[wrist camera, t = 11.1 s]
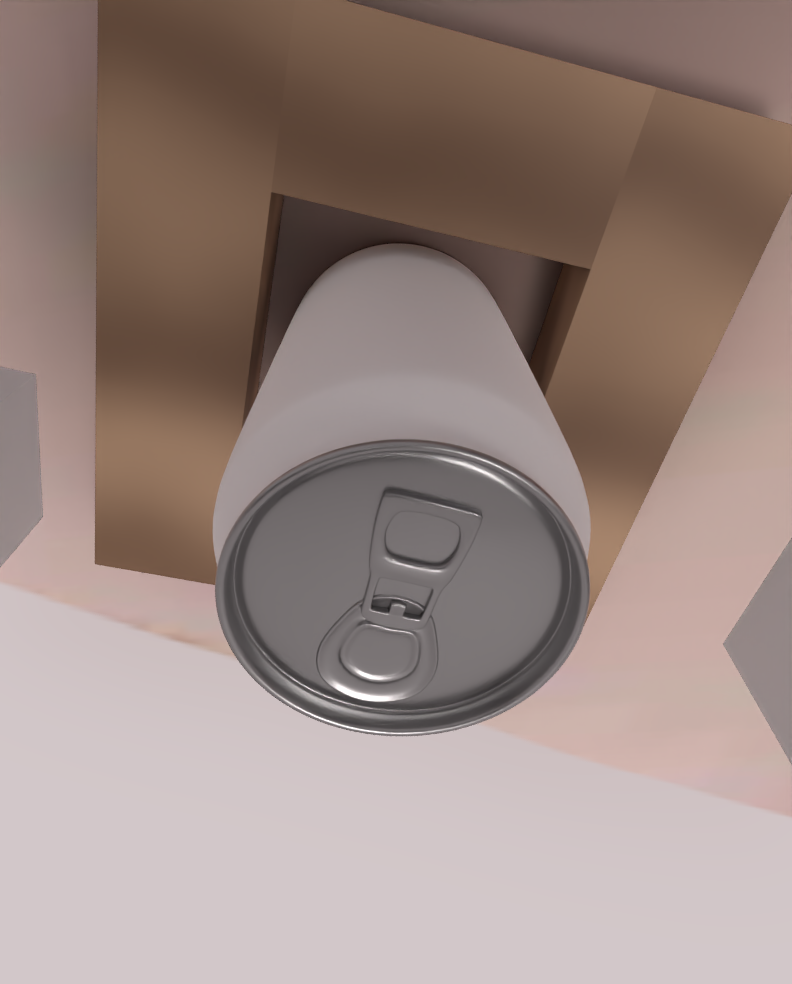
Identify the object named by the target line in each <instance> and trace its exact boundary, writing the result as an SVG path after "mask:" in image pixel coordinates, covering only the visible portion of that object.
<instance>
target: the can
mask: <svg viewBox="0 0 792 984" xmlns="http://www.w3.org/2000/svg"><path fill="white" fill-rule="evenodd" d="M590 533H591V523H590V512H589V505H588V500H587V496H586V492H585V488H584V485H583V481H582V478H581V475H580V473H579V470H578V468H577V465H576V463H575V460H574V458H573V456H572V453H571V451H570V449H569V447H568V445H567V443H566V440H565V438H564V436H563V434H562V432H561V430H560V428H559V426H558V424H557V422H556V420H555V418H554V416H553V414H552V412H551V410H550V408H549V406H548V403H547V401H546V399H545V397H544V395H543V393H542V391H541V389H540V387H539V385H538V383H537V381H536V379H535V377H534V375H533V373H532V371H531V369H530V367H529V365H528V363H527V361H526V359H525V357H524V355H523V354H522V352H521V350H520V348H519V346H518V344H517V342H516V340H515V338H514V336H513V334H512V332H511V330H510V328H509V326H508V324H507V322H506V320H505V318H504V316H503V315H502V313H501V311H500V309H499V307H498V305H497V303H496V302H495V300H494V298H493V297H492V295H491V294H490V292H489V291H488V289H487V288H486V287H485V285H484V284H483V283H482V282H481V280H480V279H479V278H478V277H477V276H476V275H475V274H474V273H473V272H472V271H470V270H469V269H468V268H467V267H466V266H464V265H463V264H462V263H460V262H459V261H457V260H456V259H454V258H452V257H450V256H448V255H446V254H444V253H442V252H440V251H437V250H434V249H431V248H428V247H424V246H419V245H413V244H383V245H377V246H373V247H369V248H365V249H362V250H360V251H357V252H355V253H352V254H350V255H348V256H346V257H344V258H343V259H341V260H339V261H338V262H336V263H335V264H333V265H332V266H331V267H330V268H328V269H327V270H326V271H325V272H324V273H323V274H322V275H321V276H320V277H319V278H318V279H317V280H316V281H315V282H314V283H313V285H312V286H311V287H310V288H309V290H308V291H307V293H306V294H305V296H304V298H303V299H302V301H301V303H300V305H299V306H298V308H297V310H296V312H295V314H294V316H293V319H292V321H291V323H290V325H289V327H288V329H287V331H286V333H285V336H284V338H283V340H282V342H281V344H280V346H279V349H278V351H277V353H276V355H275V357H274V359H273V362H272V364H271V366H270V368H269V370H268V373H267V375H266V377H265V379H264V381H263V384H262V386H261V388H260V390H259V392H258V395H257V397H256V399H255V401H254V403H253V406H252V408H251V410H250V412H249V415H248V417H247V419H246V421H245V424H244V426H243V428H242V430H241V433H240V435H239V437H238V440H237V442H236V444H235V446H234V449H233V451H232V453H231V456H230V458H229V461H228V464H227V466H226V469H225V472H224V474H223V477H222V480H221V483H220V486H219V490H218V494H217V499H216V503H215V509H214V516H213V545H214V552H215V558H216V563H217V572H216V581H215V597H216V607H217V613H218V617H219V621H220V624H221V627H222V630H223V633H224V635H225V638H226V640H227V642H228V644H229V646H230V648H231V650H232V651H233V653H234V655H235V656H236V658H237V659H238V661H239V662H240V663H241V665H242V666H243V667H244V669H245V670H246V671H247V672H248V673H249V674H250V675H251V677H252V678H253V679H254V680H255V681H256V682H257V683H258V684H259V685H260V686H262V687H263V688H264V689H265V690H266V691H267V692H269V693H270V694H271V695H272V696H274V697H275V698H277V699H278V700H279V701H281V702H282V703H284V704H286V705H287V706H289V707H291V708H292V709H294V710H296V711H298V712H300V713H302V714H304V715H306V716H308V717H310V718H313V719H315V720H317V721H320V722H323V723H325V724H328V725H332V726H335V727H338V728H342V729H346V730H350V731H355V732H360V733H366V734H373V735H384V736H419V735H429V734H437V733H442V732H448V731H452V730H457V729H461V728H464V727H468V726H471V725H474V724H477V723H480V722H483V721H485V720H488V719H490V718H493V717H495V716H497V715H499V714H501V713H503V712H505V711H507V710H509V709H511V708H513V707H514V706H516V705H518V704H519V703H521V702H522V701H524V700H525V699H527V698H528V697H529V696H531V695H532V694H533V693H535V692H536V691H537V690H538V689H540V688H541V687H542V686H543V685H544V684H545V683H546V682H547V681H548V680H549V679H550V678H551V677H552V676H553V675H554V674H555V673H556V672H557V671H558V670H559V668H560V667H561V666H562V665H563V663H564V662H565V661H566V659H567V658H568V656H569V655H570V653H571V652H572V650H573V648H574V647H575V645H576V643H577V641H578V639H579V636H580V634H581V632H582V629H583V626H584V623H585V620H586V616H587V612H588V607H589V600H590V574H589V567H588V562H587V558H588V552H589V545H590Z"/></svg>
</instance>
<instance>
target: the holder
mask: <svg viewBox="0 0 792 984" xmlns="http://www.w3.org/2000/svg"><path fill="white" fill-rule="evenodd" d="M791 194H792V125H791V124H787V123H784V122H780V121H776V120H773V119H769V118H766V117H762V116H759V115H755V114H751V113H748V112H744V111H741V110H737V109H733V108H730V107H726V106H723V105H719V104H715V103H712V102H708V101H705V100H701V99H698V98H694V97H690V96H687V95H683V94H680V93H676V92H672V91H669V90H665V89H662V88H658V87H654V86H651V85H647V84H644V83H640V82H637V81H633V80H629V79H626V78H622V77H619V76H615V75H611V74H608V73H604V72H601V71H597V70H593V69H590V68H586V67H583V66H579V65H576V64H572V63H568V62H565V61H561V60H558V59H554V58H550V57H547V56H543V55H540V54H536V53H532V52H529V51H525V50H522V49H518V48H515V47H511V46H507V45H504V44H500V43H497V42H493V41H489V40H486V39H482V38H479V37H475V36H472V35H468V34H464V33H461V32H457V31H454V30H450V29H446V28H443V27H439V26H436V25H432V24H428V23H425V22H421V21H418V20H414V19H411V18H407V17H403V16H400V15H396V14H393V13H389V12H385V11H382V10H378V9H375V8H371V7H367V6H364V5H360V4H357V3H353V2H350V1H346V0H98V89H97V272H96V455H95V564H98V565H103V566H109V567H115V568H121V569H126V570H132V571H138V572H144V573H149V574H155V575H161V576H167V577H172V578H178V579H184V580H190V581H195V582H201V583H207V584H213V585H215V581H216V572H217V563H216V558H215V552H214V545H213V516H214V509H215V503H216V499H217V494H218V490H219V486H220V483H221V480H222V477H223V474H224V472H225V469H226V466H227V464H228V461H229V458H230V456H231V453H232V451H233V449H234V446H235V444H236V442H237V440H238V437H239V435H240V433H241V430H242V428H243V426H244V424H245V421H246V419H247V417H248V415H249V412H250V410H251V408H252V406H253V403H254V401H255V399H256V397H257V393H258V385H259V378H260V370H261V363H262V355H263V348H264V340H265V333H266V325H267V318H268V310H269V303H270V295H271V288H272V280H273V273H274V265H275V258H276V250H277V243H278V235H279V228H280V220H281V213H282V205H283V198H284V195H286V196H290V197H294V198H298V199H302V200H307V201H311V202H315V203H319V204H323V205H327V206H331V207H335V208H340V209H344V210H348V211H352V212H356V213H360V214H364V215H368V216H373V217H377V218H381V219H385V220H389V221H393V222H397V223H401V224H406V225H410V226H414V227H418V228H422V229H426V230H430V231H434V232H438V233H443V234H447V235H451V236H455V237H459V238H463V239H467V240H471V241H476V242H480V243H484V244H488V245H492V246H496V247H500V248H504V249H509V250H513V251H517V252H521V253H525V254H529V255H533V256H537V257H542V258H546V259H550V260H554V261H558V262H562V263H564V264H563V267H562V270H561V273H560V276H559V279H558V282H557V285H556V288H555V291H554V294H553V297H552V300H551V303H550V305H549V308H548V311H547V314H546V317H545V320H544V323H543V326H542V329H541V332H540V335H539V338H538V341H537V344H536V346H535V349H534V352H533V355H532V358H531V361H530V364H529V367H530V369H531V371H532V373H533V375H534V377H535V379H536V381H537V383H538V385H539V387H540V389H541V391H542V393H543V395H544V397H545V399H546V401H547V403H548V406H549V408H550V410H551V412H552V414H553V416H554V418H555V420H556V422H557V424H558V426H559V428H560V430H561V432H562V434H563V436H564V438H565V440H566V443H567V445H568V447H569V449H570V451H571V453H572V456H573V458H574V460H575V463H576V465H577V468H578V470H579V473H580V475H581V478H582V481H583V485H584V488H585V492H586V496H587V500H588V505H589V512H590V523H591V533H590V545H589V552H588V558H587V562H588V567H589V574H590V600H589V607H588V612H587V616H586V620H587V618H588V616H589V614H590V612H591V610H592V608H593V606H594V603H595V601H596V599H597V597H598V595H599V593H600V591H601V589H602V587H603V585H604V583H605V581H606V579H607V576H608V574H609V572H610V570H611V568H612V566H613V564H614V562H615V560H616V558H617V556H618V554H619V551H620V549H621V547H622V545H623V543H624V541H625V539H626V537H627V535H628V533H629V531H630V529H631V527H632V524H633V522H634V520H635V518H636V516H637V514H638V512H639V510H640V508H641V506H642V504H643V502H644V500H645V497H646V495H647V493H648V491H649V489H650V487H651V485H652V483H653V481H654V479H655V477H656V475H657V472H658V470H659V468H660V466H661V464H662V462H663V460H664V458H665V456H666V454H667V452H668V450H669V448H670V445H671V443H672V441H673V439H674V437H675V435H676V433H677V431H678V429H679V427H680V425H681V423H682V421H683V418H684V416H685V414H686V412H687V410H688V408H689V406H690V404H691V402H692V400H693V398H694V396H695V393H696V391H697V389H698V387H699V385H700V383H701V381H702V379H703V377H704V375H705V373H706V371H707V369H708V366H709V364H710V362H711V360H712V358H713V356H714V354H715V352H716V350H717V348H718V346H719V344H720V342H721V339H722V337H723V335H724V333H725V331H726V329H727V327H728V325H729V323H730V321H731V319H732V317H733V314H734V312H735V310H736V308H737V306H738V304H739V302H740V300H741V298H742V296H743V294H744V292H745V290H746V287H747V285H748V283H749V281H750V279H751V277H752V275H753V273H754V271H755V269H756V267H757V265H758V262H759V260H760V258H761V256H762V254H763V252H764V250H765V248H766V246H767V244H768V242H769V240H770V238H771V235H772V233H773V231H774V229H775V227H776V225H777V223H778V221H779V219H780V217H781V215H782V213H783V211H784V208H785V206H786V204H787V202H788V200H789V198H790V196H791ZM586 620H585V622H586ZM584 624H585V623H584Z"/></svg>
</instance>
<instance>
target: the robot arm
mask: <svg viewBox="0 0 792 984" xmlns="http://www.w3.org/2000/svg"><path fill="white" fill-rule="evenodd" d="M42 517H43V508H42V488H41V468H40V448H39V428H38V408H37V387H36V374H33V373H28V372H23V371H18V370H14V369H9V368H4V367H0V567H1V566H2V565H3V564H4V562H5V561H6V560H7V559H8V558H9V557H10V555H11V554H12V553H13V552H14V551H15V549H16V548H17V547H18V546H19V545H20V543H21V542H22V541H23V540H24V539H25V537H26V536H27V535H28V534H29V533H30V532H31V530H32V529H33V528H34V527H35V526H36V524H37V523H38V522H39V521H40V520H41V518H42ZM723 645H724V647H725V648H726V650H727V652H728V654H729V655H730V657H731V659H732V661H733V662H734V664H735V666H736V668H737V669H738V671H739V673H740V675H741V677H742V678H743V680H744V682H745V684H746V685H747V687H748V689H749V691H750V692H751V694H752V696H753V698H754V699H755V701H756V703H757V705H758V706H759V708H760V710H761V712H762V713H763V715H764V717H765V719H766V720H767V722H768V724H769V726H770V727H771V729H772V731H773V733H774V734H775V736H776V738H777V740H778V741H779V743H780V745H781V747H782V749H783V750H784V752H785V754H786V756H787V757H788V759H789V761H790V763H791V764H792V538H791V540H790V541H789V543H788V544H787V546H786V547H785V549H784V550H783V552H782V553H781V555H780V557H779V558H778V560H777V561H776V563H775V564H774V566H773V567H772V569H771V570H770V572H769V574H768V575H767V577H766V578H765V580H764V581H763V583H762V584H761V586H760V588H759V589H758V591H757V592H756V594H755V595H754V597H753V598H752V600H751V601H750V603H749V605H748V606H747V608H746V609H745V611H744V612H743V614H742V615H741V617H740V618H739V620H738V622H737V623H736V625H735V626H734V628H733V629H732V631H731V632H730V634H729V635H728V637H727V639H726V640H725V642H724V643H723Z"/></svg>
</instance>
